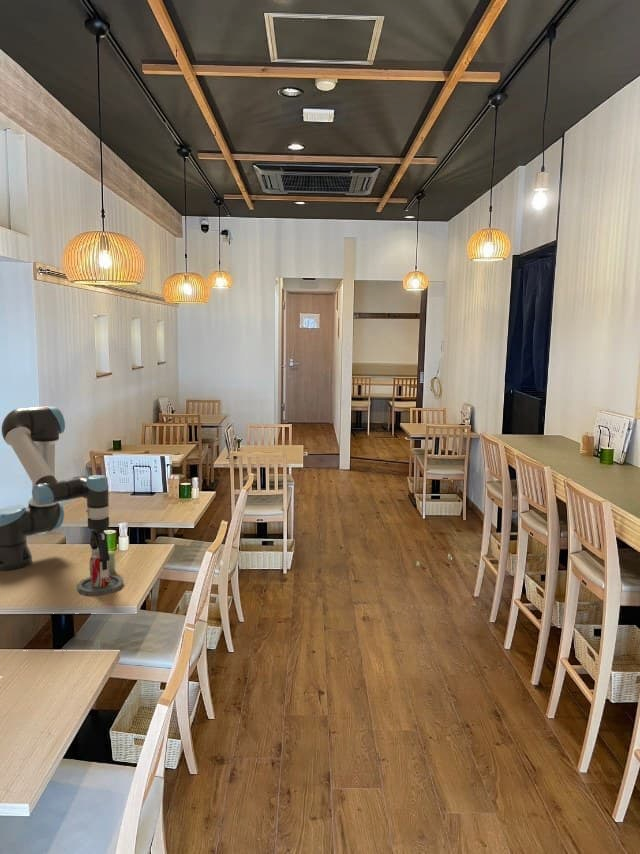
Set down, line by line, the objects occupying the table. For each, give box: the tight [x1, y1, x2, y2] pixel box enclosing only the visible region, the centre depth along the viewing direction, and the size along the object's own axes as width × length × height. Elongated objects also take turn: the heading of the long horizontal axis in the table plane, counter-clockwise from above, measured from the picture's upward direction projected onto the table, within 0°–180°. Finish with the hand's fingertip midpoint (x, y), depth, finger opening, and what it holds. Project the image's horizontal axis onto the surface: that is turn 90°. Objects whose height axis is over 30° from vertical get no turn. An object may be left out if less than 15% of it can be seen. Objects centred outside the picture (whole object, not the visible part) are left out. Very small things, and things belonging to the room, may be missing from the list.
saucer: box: [76, 574, 124, 596], centre depth 230 cm, size 16×16×1 cm
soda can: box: [89, 552, 111, 588], centre depth 229 cm, size 7×7×12 cm
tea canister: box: [108, 550, 116, 575], centre depth 244 cm, size 5×5×8 cm
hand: (100, 571), depth 229 cm, fingers open, 13 cm apart
